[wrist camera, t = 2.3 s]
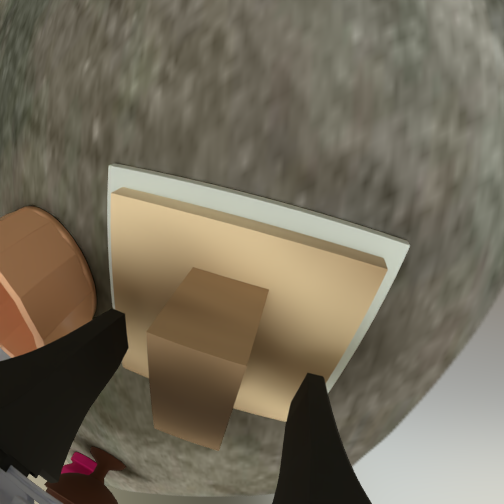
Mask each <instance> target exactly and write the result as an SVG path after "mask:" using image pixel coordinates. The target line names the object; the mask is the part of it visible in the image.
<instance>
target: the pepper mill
mask: <svg viewBox="0 0 504 504" xmlns="http://www.w3.org/2000/svg"><path fill="white" fill-rule="evenodd" d="M71 460H72V462H73V463H71V464H67V465H64V466H63V468H62V471H61V473H69V472H70V473H81V474H85V475H90V474H91V473H93V471H94V469H95V468H96V466H97V463H96V462H94V461H93V460H91V459H90V458H88V457H86V456H84V455H83V454H81V453H78V452H75V453H74V454H73V456H72V458H71Z"/></svg>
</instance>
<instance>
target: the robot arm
mask: <svg viewBox="0 0 504 504" xmlns="http://www.w3.org/2000/svg"><path fill="white" fill-rule="evenodd" d="M128 348H129V347H128V338H127V329H126V318H125V313H122V312H120V311H118V310H115V309H113V308H112V309H110V310H109V311H107V312H105V313H103V314H102V315H100V316H98V317H96V318H95V319H93V320H91V321H90V322H88V323H86V324H84V325H83V326H81V327H79V328H77V329H76V330H74V331H72V332H70V333H69V334H67V335H65V336H63V337H61V338H59V339H57V340H55V341H53V342H51V343H49V344H47V345H45V346H43V347H40V348H38V349H36V350H33V351H31V352H28V353H25V354H23V355H19V356H16V357H13V358H11V357H10V356H9V355H8V354H6V353H5V352H4V351H3V350H2V349H1V348H0V504H34V500H35V501H37V502H38V503H39V504H63V503H62V502H60V501H59V500H57V499H56V498H54V497H53V496H51V495H50V494H48V493H47V492H46V491H44V490H42V489H41V488H40V487H39V486H37V485H36V484H35V483H33V482H32V481H31V480H29V479H28V478H27V476H28V475H29V474H31V475H32V476H33V477H35V478H37V476H38V475H40V476H41V477H43V478H44V479H45V480H47V481H48V482H50V483H57V482H58V481H59V478H60V474H61V471H62V468H63V465H64V462H65V460H66V457H67V455H68V452H69V449H70V447H71V445H72V442H73V440H74V438H75V436H76V434H77V431H78V429H79V427H80V425H81V423H82V421H83V420H84V418H85V416H86V414H87V412H88V410H89V409H90V407H91V406H92V404H93V403H94V401H95V400H96V399H97V397H98V396H99V394H100V393H101V391H102V390H103V389H104V387H105V386H106V384H107V383H108V382H109V380H110V379H111V377H112V376H113V375H114V373H115V372H116V370H117V369H118V367H119V365H120V363H121V362H122V360H123V358H124V356H125V354H126V352H127V350H128ZM272 504H372V503H371V502H370V500H369V498H368V497H367V495H366V493H365V491H364V490H363V488H362V486H361V485H360V482H359V481H358V479H357V477H356V475H355V473H354V470H353V468H352V466H351V464H350V461H349V459H348V457H347V454H346V452H345V449H344V446H343V444H342V441H341V438H340V435H339V432H338V429H337V426H336V422H335V419H334V416H333V412H332V408H331V405H330V401H329V397H328V392H327V388H326V383H325V379H324V377H323V376H320V375H315V374H311V373H307V374H306V376H305V378H304V380H303V382H302V383H301V385H300V387H299V389H298V391H297V392H296V394H295V396H294V398H293V399H292V401H291V404H290V408H289V412H288V417H287V421H286V426H285V434H284V442H283V451H282V459H281V467H280V474H279V479H278V484H277V488H276V492H275V496H274V499H273V503H272Z"/></svg>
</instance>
